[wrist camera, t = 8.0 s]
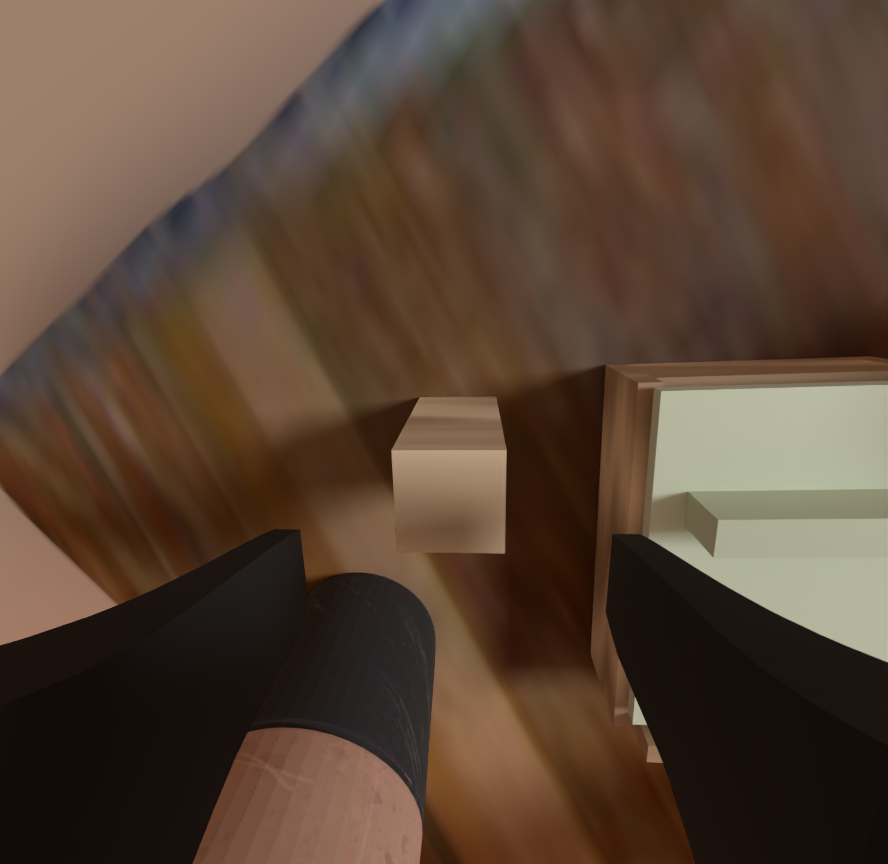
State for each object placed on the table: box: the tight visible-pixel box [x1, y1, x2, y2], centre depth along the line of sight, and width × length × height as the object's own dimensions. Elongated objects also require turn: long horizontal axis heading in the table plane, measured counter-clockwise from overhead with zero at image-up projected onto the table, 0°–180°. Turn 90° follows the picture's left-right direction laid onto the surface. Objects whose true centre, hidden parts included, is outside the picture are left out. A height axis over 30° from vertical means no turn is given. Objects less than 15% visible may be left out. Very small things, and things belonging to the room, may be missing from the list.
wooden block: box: [391, 397, 507, 554], centre depth 17 cm, size 3×3×7 cm
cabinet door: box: [628, 381, 888, 725], centre depth 15 cm, size 13×9×3 cm
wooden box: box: [591, 356, 888, 763], centre depth 18 cm, size 14×10×6 cm
